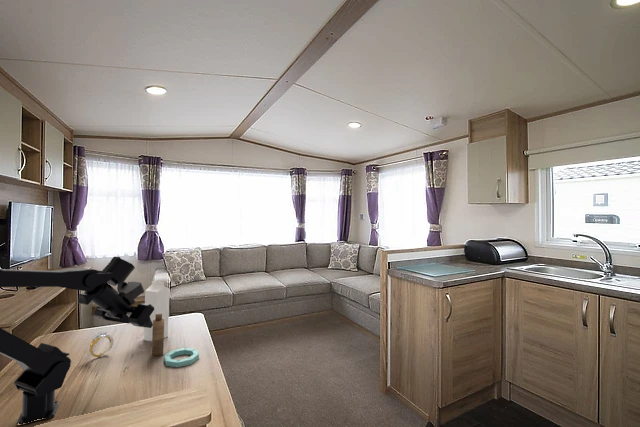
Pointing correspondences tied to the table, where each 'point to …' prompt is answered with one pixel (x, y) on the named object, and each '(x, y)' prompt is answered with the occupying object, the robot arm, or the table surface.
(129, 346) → the table surface
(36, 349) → the robot arm
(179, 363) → the teal faceted ring
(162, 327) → the brown peg
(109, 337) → the ring
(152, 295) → the milk
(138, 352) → the table surface
